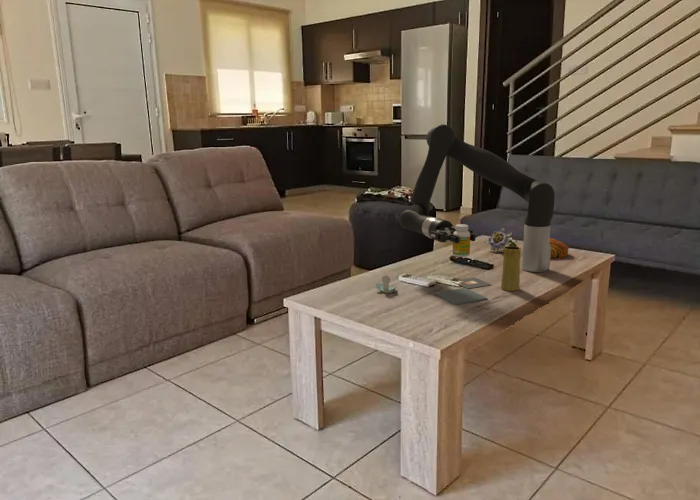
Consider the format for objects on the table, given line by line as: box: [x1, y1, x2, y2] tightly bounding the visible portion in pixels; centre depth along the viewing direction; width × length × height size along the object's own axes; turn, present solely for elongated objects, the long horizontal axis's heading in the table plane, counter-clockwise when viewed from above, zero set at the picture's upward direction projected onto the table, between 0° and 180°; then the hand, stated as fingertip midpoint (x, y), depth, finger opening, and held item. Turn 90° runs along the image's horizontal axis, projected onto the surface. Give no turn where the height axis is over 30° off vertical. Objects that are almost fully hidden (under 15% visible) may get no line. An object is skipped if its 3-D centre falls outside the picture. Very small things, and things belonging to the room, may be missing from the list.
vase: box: [500, 245, 521, 292], centre depth 183 cm, size 6×6×14 cm
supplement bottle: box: [452, 223, 471, 258], centre depth 173 cm, size 5×5×10 cm
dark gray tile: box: [459, 276, 492, 290], centre depth 191 cm, size 10×10×1 cm
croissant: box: [549, 237, 570, 259], centre depth 227 cm, size 14×16×8 cm
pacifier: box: [375, 274, 398, 294], centre depth 183 cm, size 7×6×6 cm
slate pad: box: [434, 287, 488, 306], centre depth 176 cm, size 12×12×1 cm
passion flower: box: [484, 227, 518, 253], centre depth 236 cm, size 11×11×12 cm
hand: (466, 239), depth 170 cm, fingers closed on supplement bottle, 5 cm apart
